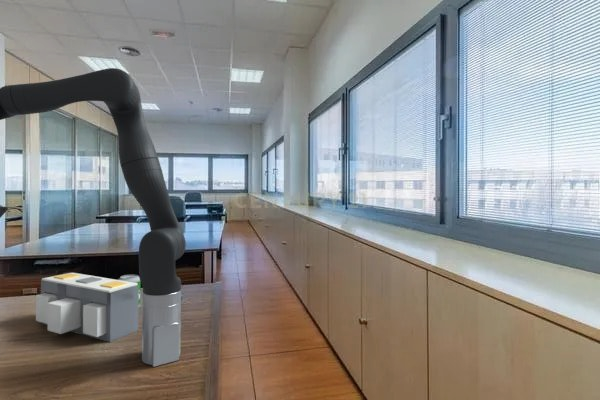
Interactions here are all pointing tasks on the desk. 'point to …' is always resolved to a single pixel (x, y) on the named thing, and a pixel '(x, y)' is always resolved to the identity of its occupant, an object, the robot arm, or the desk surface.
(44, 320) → the white rectangular block
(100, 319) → the near button
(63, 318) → the middle button
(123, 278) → the soda can
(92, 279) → the button panel
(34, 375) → the desk surface
